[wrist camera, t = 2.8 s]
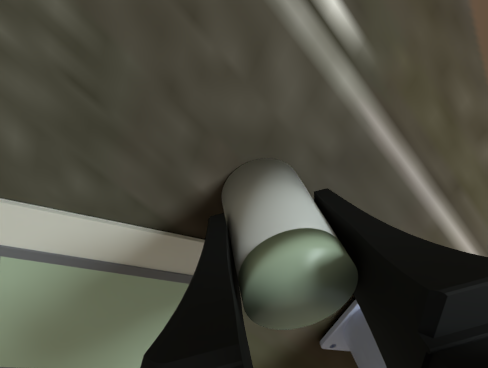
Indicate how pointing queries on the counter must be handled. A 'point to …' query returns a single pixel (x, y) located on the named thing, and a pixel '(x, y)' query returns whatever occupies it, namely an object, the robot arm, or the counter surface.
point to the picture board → (85, 287)
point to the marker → (284, 248)
